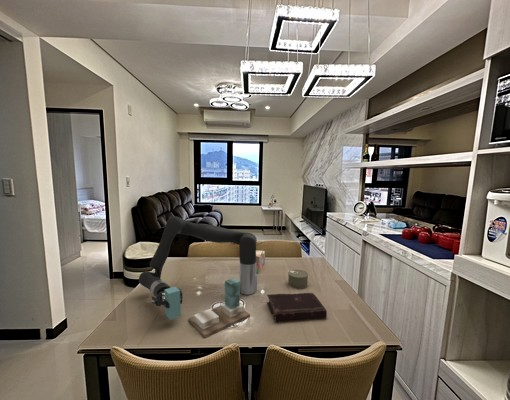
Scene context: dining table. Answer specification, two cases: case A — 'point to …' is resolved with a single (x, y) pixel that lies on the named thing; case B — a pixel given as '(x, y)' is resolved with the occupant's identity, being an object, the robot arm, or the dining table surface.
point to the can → (297, 278)
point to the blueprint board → (221, 312)
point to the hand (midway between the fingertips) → (175, 303)
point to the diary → (295, 307)
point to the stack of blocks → (259, 260)
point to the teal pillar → (173, 303)
